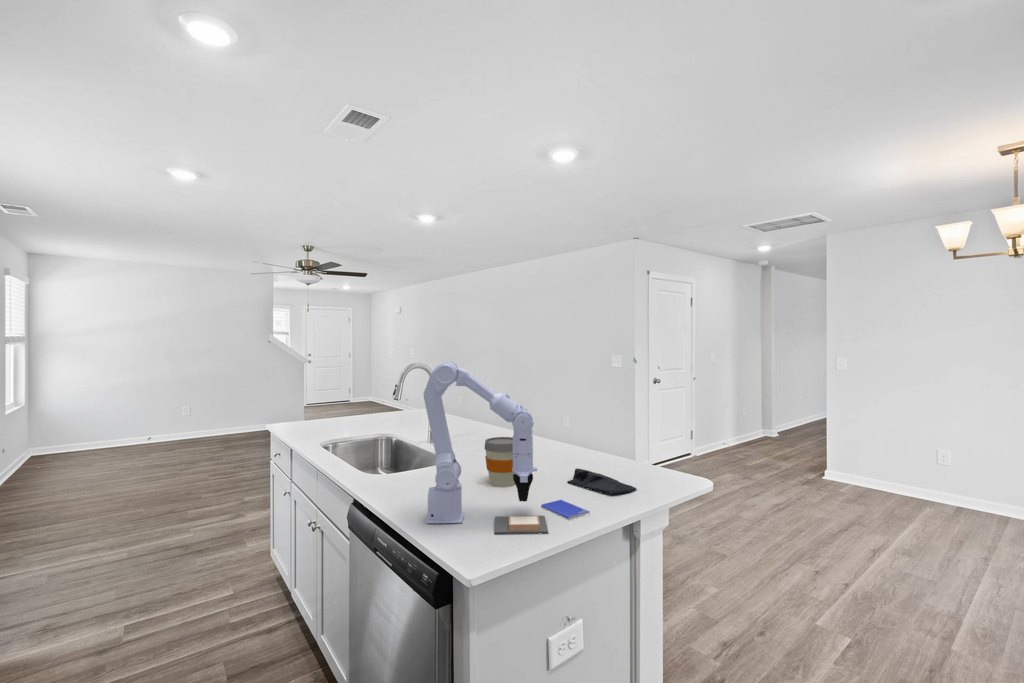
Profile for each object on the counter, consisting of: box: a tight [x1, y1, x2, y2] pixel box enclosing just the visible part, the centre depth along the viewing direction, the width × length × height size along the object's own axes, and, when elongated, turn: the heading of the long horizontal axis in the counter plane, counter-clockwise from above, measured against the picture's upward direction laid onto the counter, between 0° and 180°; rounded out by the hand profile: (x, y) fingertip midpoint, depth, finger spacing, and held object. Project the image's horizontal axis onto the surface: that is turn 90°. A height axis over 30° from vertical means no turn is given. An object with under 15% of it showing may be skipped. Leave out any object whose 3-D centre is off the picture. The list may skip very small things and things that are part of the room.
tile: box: [508, 515, 540, 531], centre depth 126 cm, size 8×2×6 cm
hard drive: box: [540, 499, 591, 521], centre depth 139 cm, size 2×8×12 cm
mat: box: [493, 515, 549, 535], centre depth 128 cm, size 14×11×1 cm
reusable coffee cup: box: [484, 436, 516, 488], centre depth 167 cm, size 13×13×15 cm
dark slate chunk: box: [567, 467, 637, 496], centre depth 163 cm, size 15×22×5 cm
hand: (523, 500), depth 134 cm, fingers closed
